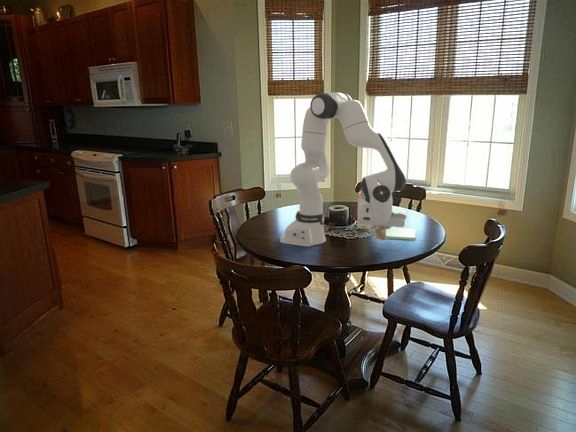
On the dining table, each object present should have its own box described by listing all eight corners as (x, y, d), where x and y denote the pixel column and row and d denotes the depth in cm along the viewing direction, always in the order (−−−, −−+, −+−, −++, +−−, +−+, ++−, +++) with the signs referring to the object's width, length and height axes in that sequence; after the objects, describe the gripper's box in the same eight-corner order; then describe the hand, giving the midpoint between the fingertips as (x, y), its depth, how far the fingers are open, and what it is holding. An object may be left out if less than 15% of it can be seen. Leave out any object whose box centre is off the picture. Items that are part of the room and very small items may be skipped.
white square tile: (385, 238, 207) (385, 235, 207) (386, 229, 220) (386, 227, 220) (415, 240, 203) (415, 237, 203) (414, 231, 216) (414, 228, 216)
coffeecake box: (363, 220, 236) (363, 186, 231) (375, 221, 234) (376, 187, 228) (356, 228, 223) (357, 192, 218) (370, 229, 220) (371, 193, 215)
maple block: (375, 239, 190) (376, 220, 187) (375, 235, 194) (377, 217, 191) (385, 240, 189) (386, 220, 186) (385, 236, 193) (387, 218, 190)
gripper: (407, 207, 177) (405, 222, 189) (358, 204, 183) (359, 219, 195) (406, 220, 175) (404, 235, 187) (356, 217, 180) (358, 231, 192)
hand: (381, 227), depth 191 cm, fingers closed on maple block, 4 cm apart
